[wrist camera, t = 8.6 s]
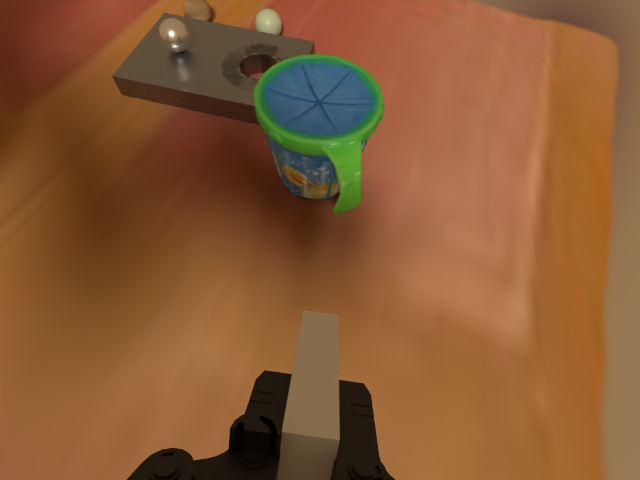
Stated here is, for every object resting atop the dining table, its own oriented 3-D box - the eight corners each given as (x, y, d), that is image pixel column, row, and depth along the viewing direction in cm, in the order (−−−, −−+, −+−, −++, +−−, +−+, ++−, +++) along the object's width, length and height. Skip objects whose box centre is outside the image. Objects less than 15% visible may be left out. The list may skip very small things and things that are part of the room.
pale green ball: (253, 42, 48) (249, 15, 45) (261, 27, 50) (258, 0, 47) (278, 47, 48) (276, 20, 45) (285, 32, 50) (284, 5, 47)
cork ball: (183, 28, 49) (175, 1, 46) (193, 14, 51) (186, -13, 48) (207, 33, 49) (201, 6, 46) (217, 19, 51) (211, -8, 47)
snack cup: (387, 226, 35) (415, 154, 26) (281, 248, 33) (273, 179, 25) (342, 115, 42) (352, 29, 33) (253, 129, 41) (239, 42, 32)
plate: (121, 94, 42) (112, 75, 40) (170, 32, 49) (164, 12, 46) (284, 129, 41) (283, 112, 39) (313, 60, 47) (314, 41, 45)
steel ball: (158, 56, 42) (147, 26, 39) (171, 38, 44) (162, 8, 41) (186, 61, 42) (177, 32, 39) (198, 44, 44) (190, 14, 41)
